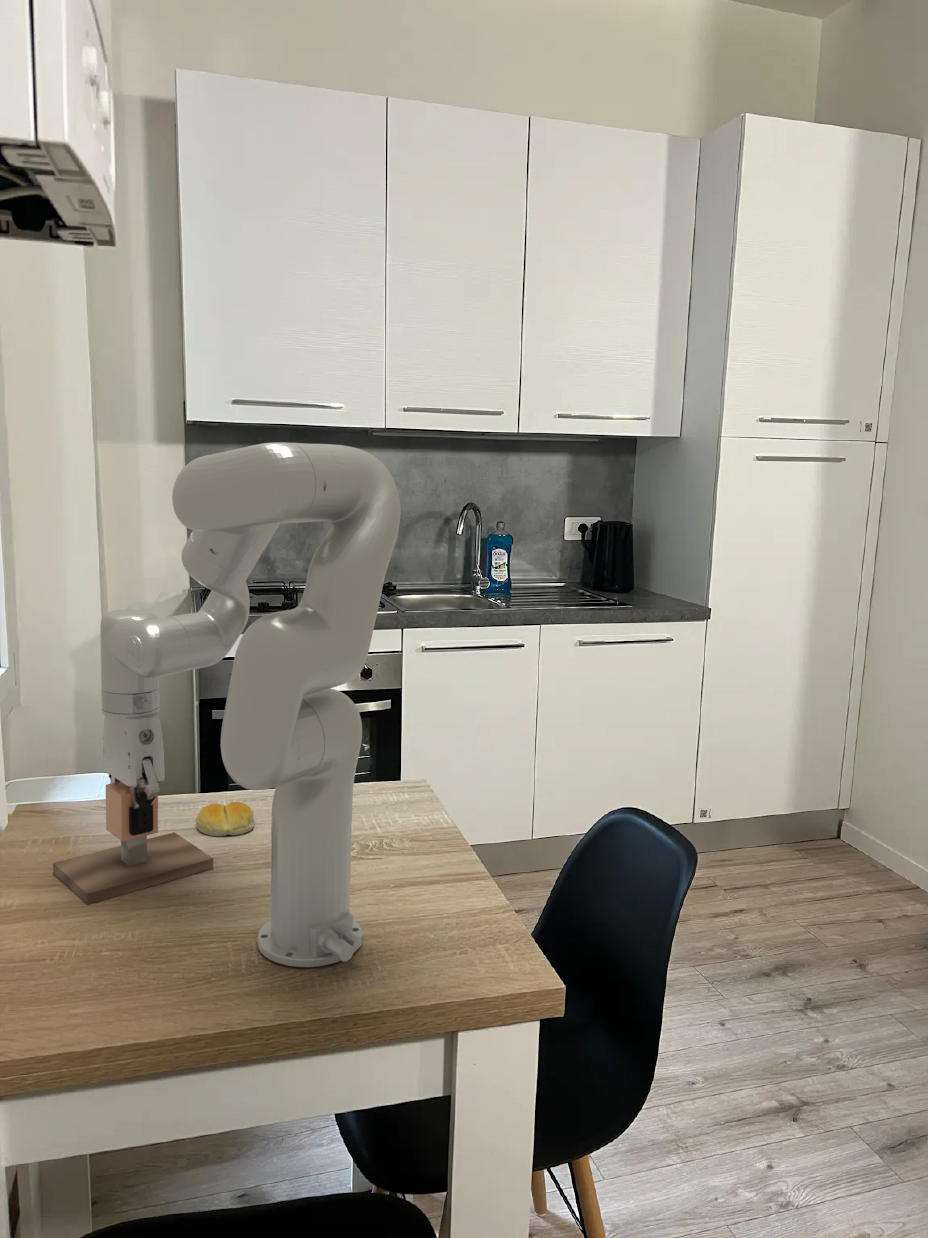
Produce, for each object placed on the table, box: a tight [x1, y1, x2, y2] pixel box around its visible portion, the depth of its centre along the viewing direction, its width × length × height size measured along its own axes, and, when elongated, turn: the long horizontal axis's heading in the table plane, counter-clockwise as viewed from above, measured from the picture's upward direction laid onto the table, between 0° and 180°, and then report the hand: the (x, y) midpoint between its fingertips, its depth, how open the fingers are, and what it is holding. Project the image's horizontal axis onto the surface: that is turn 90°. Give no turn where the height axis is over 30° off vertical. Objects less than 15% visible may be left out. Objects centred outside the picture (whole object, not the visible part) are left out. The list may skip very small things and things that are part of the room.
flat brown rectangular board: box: [52, 832, 214, 905], centre depth 133 cm, size 12×18×7 cm, turn 133°
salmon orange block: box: [105, 779, 159, 842], centre depth 133 cm, size 5×5×7 cm
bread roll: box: [195, 801, 255, 837], centre depth 151 cm, size 8×9×4 cm
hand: (132, 825), depth 133 cm, fingers closed on salmon orange block, 5 cm apart
